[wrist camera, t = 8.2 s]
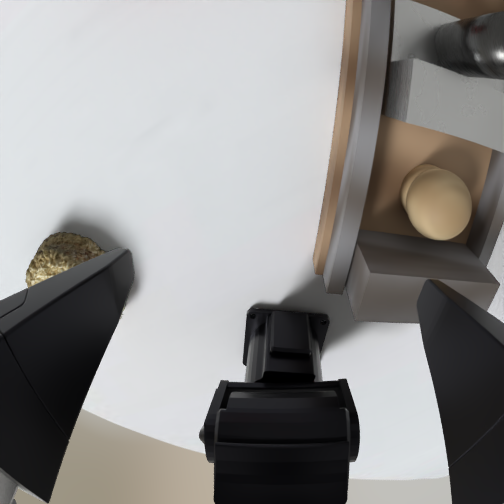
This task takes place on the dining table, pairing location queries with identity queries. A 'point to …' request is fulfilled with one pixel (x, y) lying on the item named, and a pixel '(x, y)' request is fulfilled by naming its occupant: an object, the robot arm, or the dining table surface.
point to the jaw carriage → (446, 72)
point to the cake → (60, 256)
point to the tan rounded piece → (435, 202)
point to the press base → (398, 186)
